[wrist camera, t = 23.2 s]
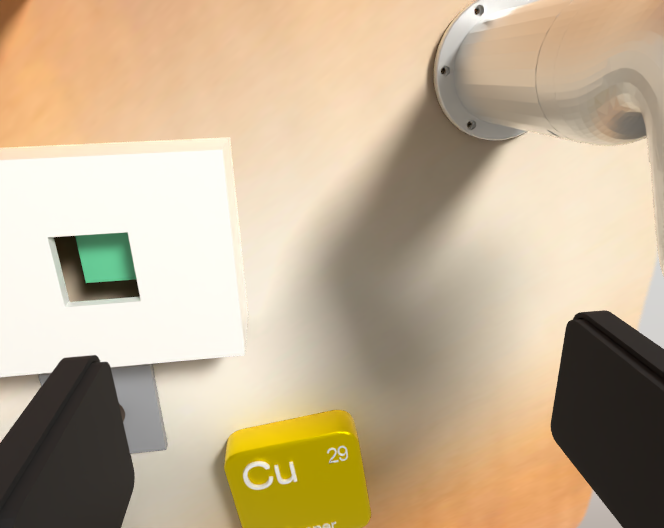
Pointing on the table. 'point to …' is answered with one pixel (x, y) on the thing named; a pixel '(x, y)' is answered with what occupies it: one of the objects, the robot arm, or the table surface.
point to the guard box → (146, 246)
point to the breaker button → (106, 257)
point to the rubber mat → (137, 407)
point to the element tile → (299, 473)
